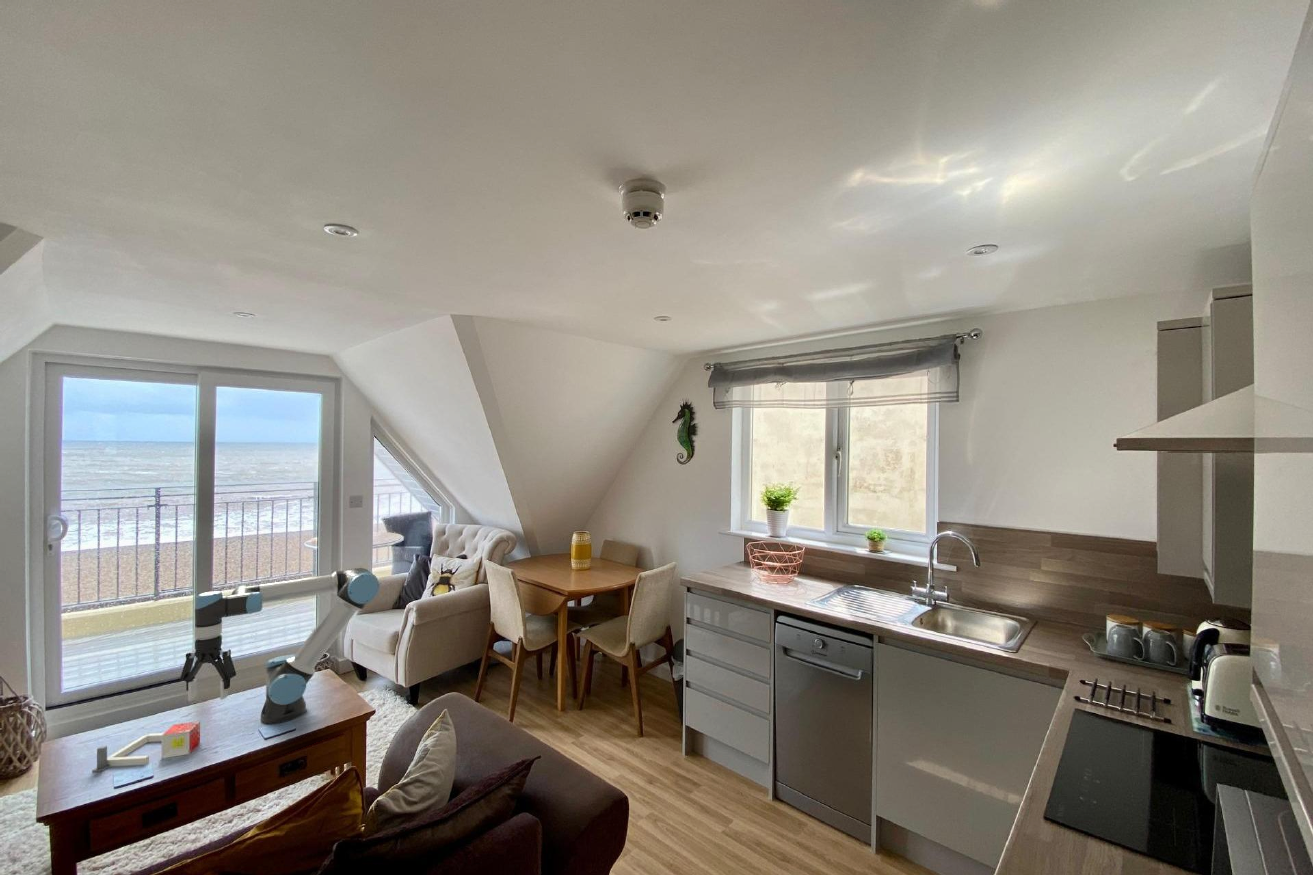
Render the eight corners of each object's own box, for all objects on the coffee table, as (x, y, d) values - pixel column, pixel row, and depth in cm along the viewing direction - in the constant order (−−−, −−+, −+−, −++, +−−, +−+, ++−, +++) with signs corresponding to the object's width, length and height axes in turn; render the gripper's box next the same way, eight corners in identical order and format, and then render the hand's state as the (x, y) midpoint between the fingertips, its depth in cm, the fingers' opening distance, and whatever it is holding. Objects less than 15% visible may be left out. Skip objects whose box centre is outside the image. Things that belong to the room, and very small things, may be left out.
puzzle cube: (161, 758, 189) (161, 735, 189) (173, 746, 197) (173, 724, 197) (189, 753, 192) (189, 731, 192) (200, 742, 199) (200, 720, 200)
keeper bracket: (184, 737, 202) (184, 718, 203) (137, 769, 183) (138, 748, 183) (143, 739, 201) (144, 720, 202) (92, 771, 181) (92, 750, 182)
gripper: (248, 631, 201) (248, 692, 200) (183, 633, 199) (183, 695, 198) (234, 638, 193) (234, 701, 193) (166, 641, 191) (166, 704, 191)
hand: (208, 698), depth 195 cm, fingers open, 10 cm apart
